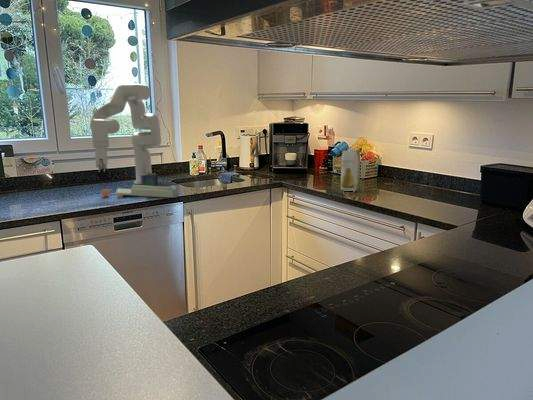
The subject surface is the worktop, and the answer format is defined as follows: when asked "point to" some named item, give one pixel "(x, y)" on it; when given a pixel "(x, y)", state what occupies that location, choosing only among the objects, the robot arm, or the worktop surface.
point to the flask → (149, 179)
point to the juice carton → (350, 170)
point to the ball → (105, 192)
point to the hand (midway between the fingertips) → (103, 178)
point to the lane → (148, 191)
